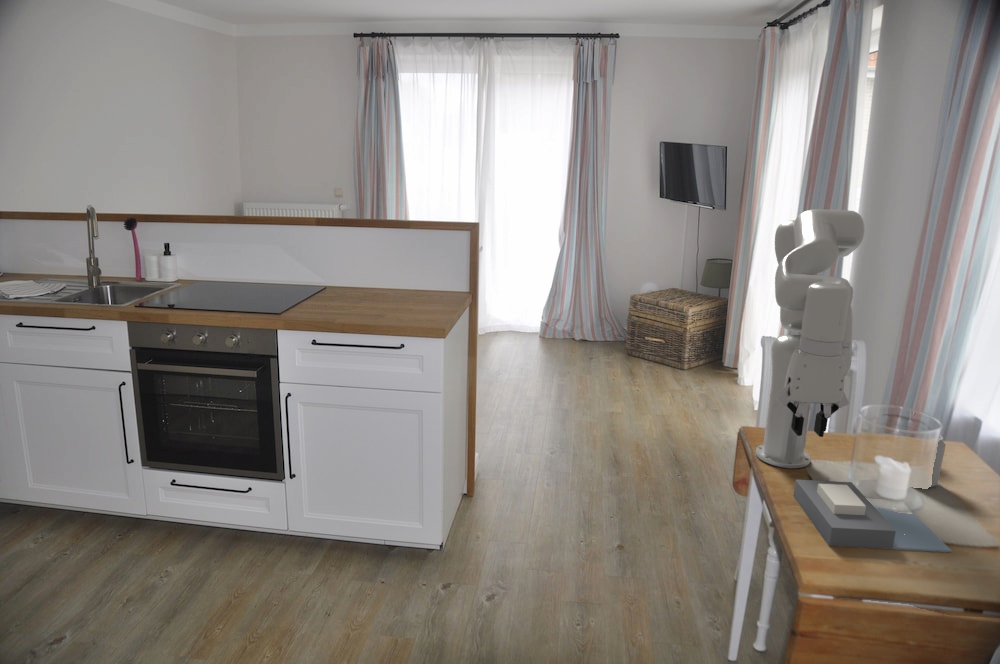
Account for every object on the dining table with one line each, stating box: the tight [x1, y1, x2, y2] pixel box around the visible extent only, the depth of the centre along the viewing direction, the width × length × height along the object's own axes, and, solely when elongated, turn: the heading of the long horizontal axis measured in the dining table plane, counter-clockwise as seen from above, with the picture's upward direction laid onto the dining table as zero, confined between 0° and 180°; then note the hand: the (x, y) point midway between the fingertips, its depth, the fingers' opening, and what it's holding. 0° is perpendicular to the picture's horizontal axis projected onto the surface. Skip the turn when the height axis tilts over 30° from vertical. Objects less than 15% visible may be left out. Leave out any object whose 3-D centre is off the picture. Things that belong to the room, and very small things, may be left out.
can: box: [931, 434, 946, 488], centre depth 160 cm, size 8×8×12 cm
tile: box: [817, 484, 866, 515], centre depth 143 cm, size 9×6×2 cm, turn 176°
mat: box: [875, 507, 952, 553], centre depth 143 cm, size 20×11×1 cm, turn 176°
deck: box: [793, 479, 896, 550], centre depth 143 cm, size 20×12×4 cm, turn 176°
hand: (807, 432), depth 140 cm, fingers open, 3 cm apart
